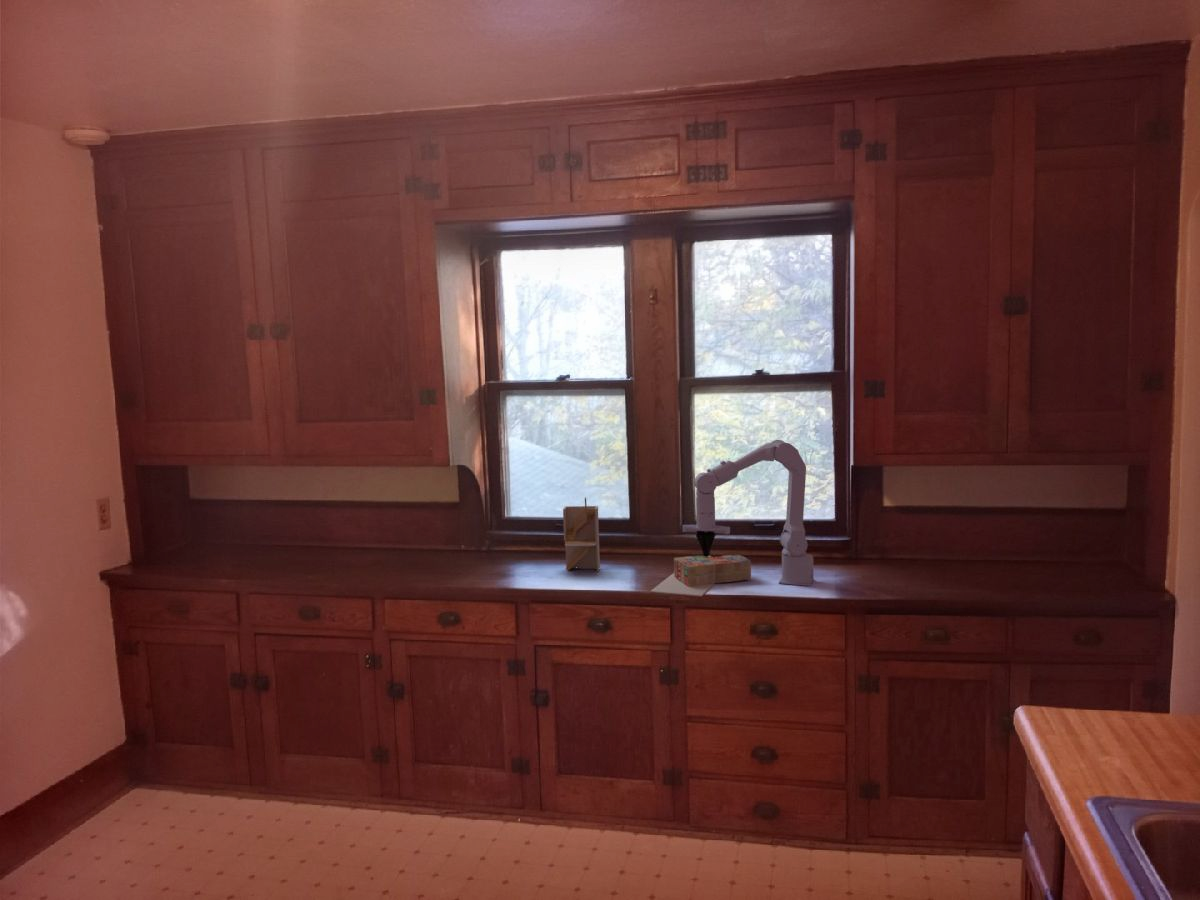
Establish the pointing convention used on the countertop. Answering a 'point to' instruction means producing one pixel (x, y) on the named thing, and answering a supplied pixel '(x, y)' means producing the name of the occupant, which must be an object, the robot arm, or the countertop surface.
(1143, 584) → the countertop surface
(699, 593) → the mat
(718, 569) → the stack of blocks
